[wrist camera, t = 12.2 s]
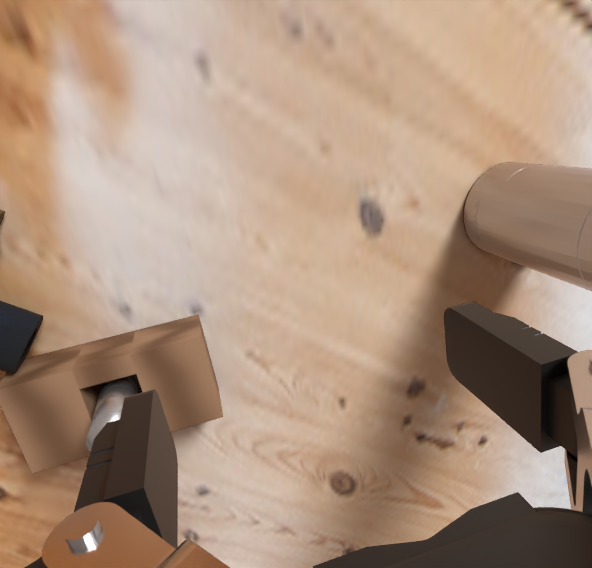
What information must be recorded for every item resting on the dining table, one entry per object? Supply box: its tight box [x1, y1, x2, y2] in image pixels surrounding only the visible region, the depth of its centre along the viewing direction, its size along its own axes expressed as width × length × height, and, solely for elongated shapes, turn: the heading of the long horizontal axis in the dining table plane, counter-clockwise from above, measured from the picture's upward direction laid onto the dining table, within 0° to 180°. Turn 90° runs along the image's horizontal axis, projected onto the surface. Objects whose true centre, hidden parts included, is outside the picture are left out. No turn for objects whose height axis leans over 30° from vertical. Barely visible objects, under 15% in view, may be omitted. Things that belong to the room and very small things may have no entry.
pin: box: [86, 374, 139, 452], centre depth 38 cm, size 3×3×10 cm
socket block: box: [0, 315, 223, 473], centre depth 40 cm, size 16×8×5 cm, turn 102°
